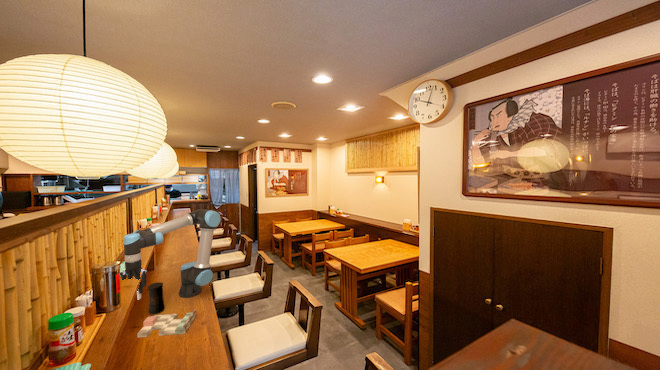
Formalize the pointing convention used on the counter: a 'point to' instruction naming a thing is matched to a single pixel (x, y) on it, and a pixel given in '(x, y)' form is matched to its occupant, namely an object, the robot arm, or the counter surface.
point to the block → (150, 321)
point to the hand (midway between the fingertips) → (135, 298)
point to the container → (156, 298)
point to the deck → (169, 325)
